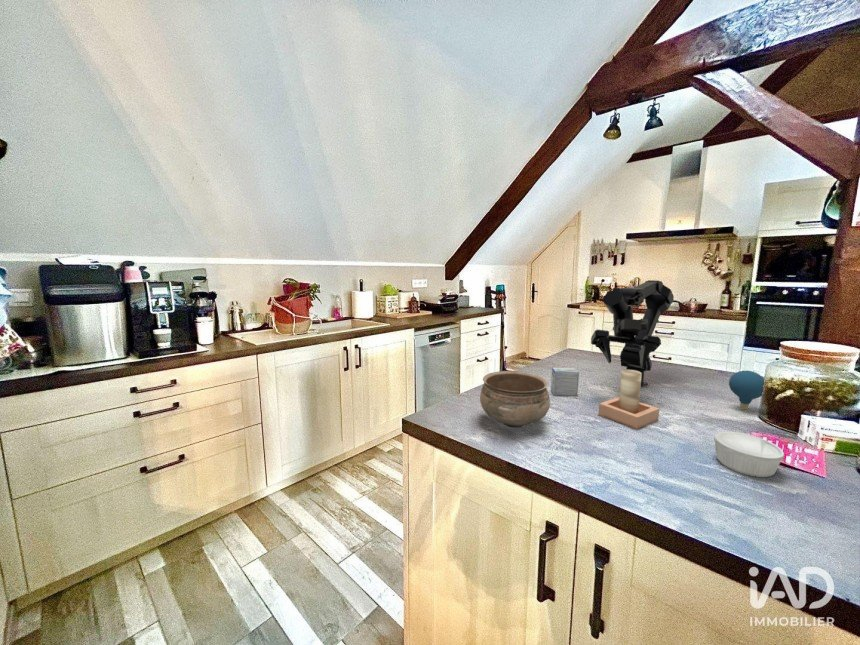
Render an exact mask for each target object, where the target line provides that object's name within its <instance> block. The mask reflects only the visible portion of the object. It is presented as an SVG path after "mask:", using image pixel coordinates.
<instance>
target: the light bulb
mask: <svg viewBox="0 0 860 645" xmlns="http://www.w3.org/2000/svg"><path fill="white" fill-rule="evenodd" d="M764 380H765V381H766V379H765V378H764V377H763V376H762V375H761V374H759V373H758V372H755V371H752V370H740V371H737V372H735V373H733V374H732V375H731V377H730V378H729V381H728V386H729V389H730V390H731V392H732V393H733V394H735V396H736V397H737V398H738V402H739V403H740V404H739V408H740V409H741V410H745V411H746V410H748V409H749V407H750V406H749V405H750V404H751V402H752V401H753V400H755V399H759V398H761V397H763V395H762V392H763V385H764Z"/></svg>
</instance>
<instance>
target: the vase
mask: <svg viewBox="0 0 860 645" xmlns="http://www.w3.org/2000/svg"><path fill="white" fill-rule="evenodd" d="M641 375H642V373H641V372H639V371H635V370H626V369H622V370H621V371H620V380H619V381H620V383H619V384H620V385H619V396H618V397H619V409H622V410H625V411H628V412H630V413H633V414H637V413H638V411H639V402H640V398H641V397H640V396H641Z"/></svg>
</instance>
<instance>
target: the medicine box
mask: <svg viewBox="0 0 860 645" xmlns="http://www.w3.org/2000/svg"><path fill="white" fill-rule="evenodd" d="M579 379H580V372H579V371H578V369H576V367H551V381H550V392H551V394H552V395H553V396H561V397H562V396H566V397H568V396H569V397H575V396H576V397H578V393H579Z"/></svg>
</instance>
